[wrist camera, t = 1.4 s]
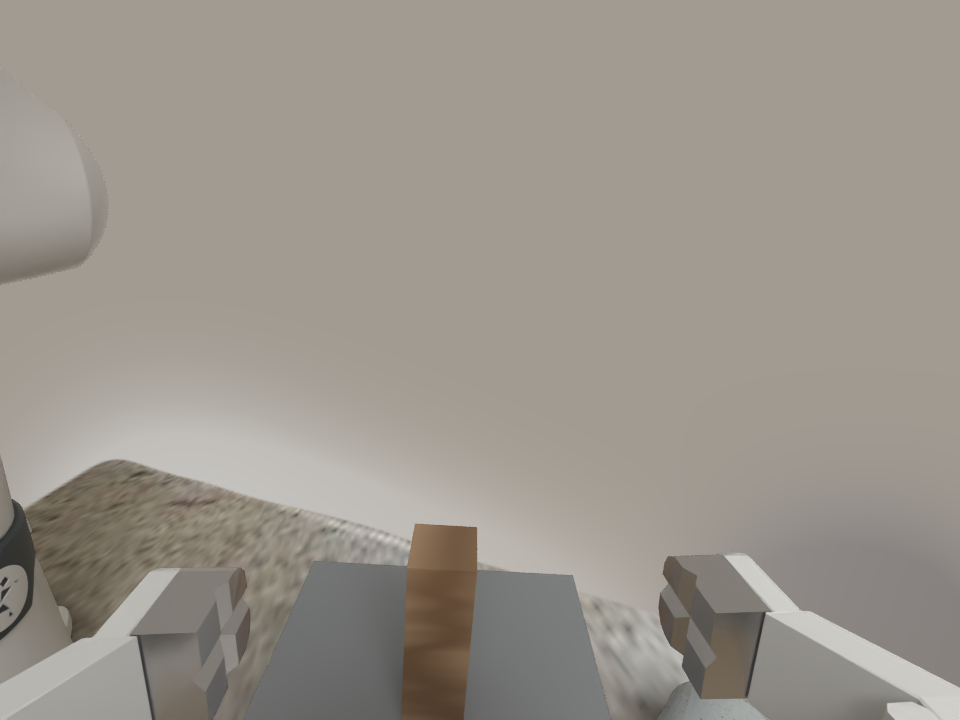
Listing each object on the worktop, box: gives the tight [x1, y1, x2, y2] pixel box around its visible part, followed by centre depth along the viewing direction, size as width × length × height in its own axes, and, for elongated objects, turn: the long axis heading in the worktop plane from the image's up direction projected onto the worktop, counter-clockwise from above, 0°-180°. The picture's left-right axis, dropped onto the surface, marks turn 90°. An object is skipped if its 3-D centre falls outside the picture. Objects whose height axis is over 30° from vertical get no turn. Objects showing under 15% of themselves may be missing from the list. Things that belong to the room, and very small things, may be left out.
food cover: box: [243, 524, 611, 720], centre depth 25 cm, size 18×18×20 cm
